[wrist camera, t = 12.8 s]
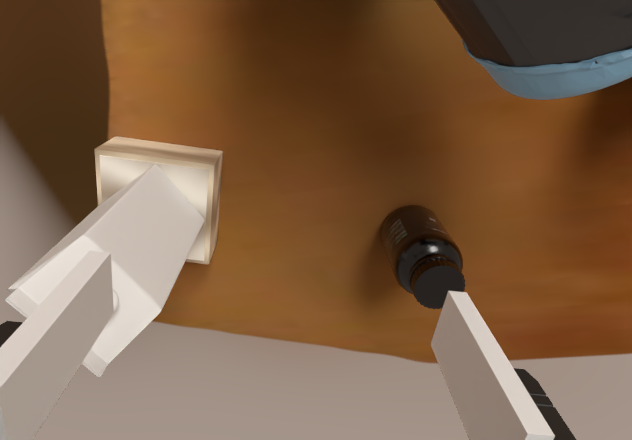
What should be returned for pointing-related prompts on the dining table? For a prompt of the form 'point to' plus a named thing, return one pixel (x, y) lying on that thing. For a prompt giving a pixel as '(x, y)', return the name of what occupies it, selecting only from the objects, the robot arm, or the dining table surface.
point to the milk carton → (122, 258)
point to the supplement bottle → (422, 255)
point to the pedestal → (180, 167)
